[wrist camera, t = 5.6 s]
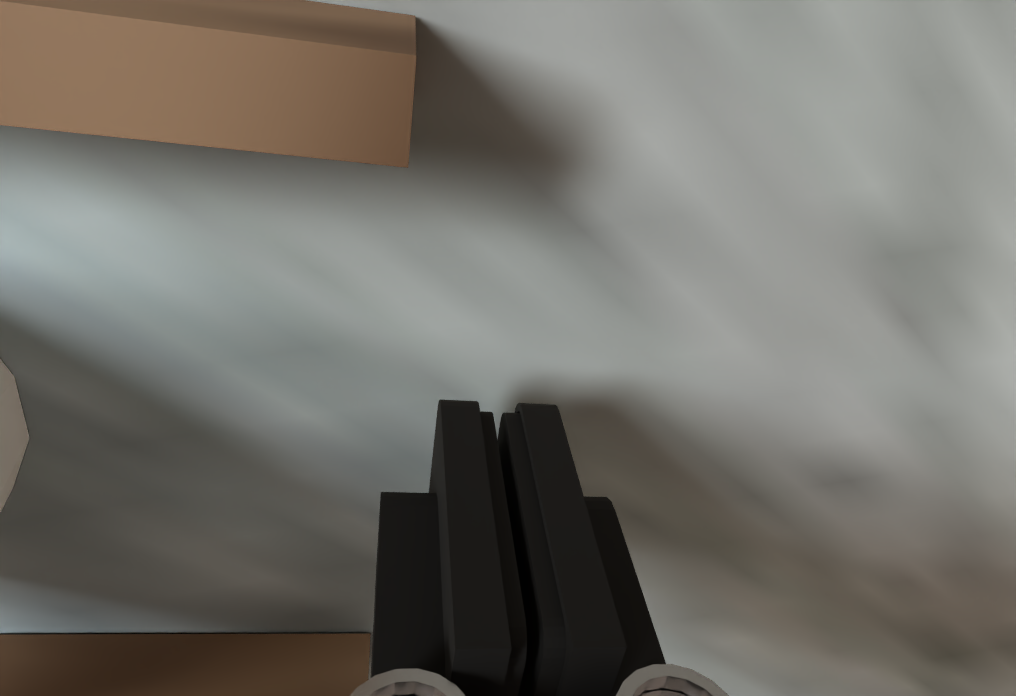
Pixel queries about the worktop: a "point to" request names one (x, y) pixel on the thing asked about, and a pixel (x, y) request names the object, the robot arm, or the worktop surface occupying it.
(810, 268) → the worktop surface
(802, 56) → the worktop surface
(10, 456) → the white cylinder
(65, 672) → the box
